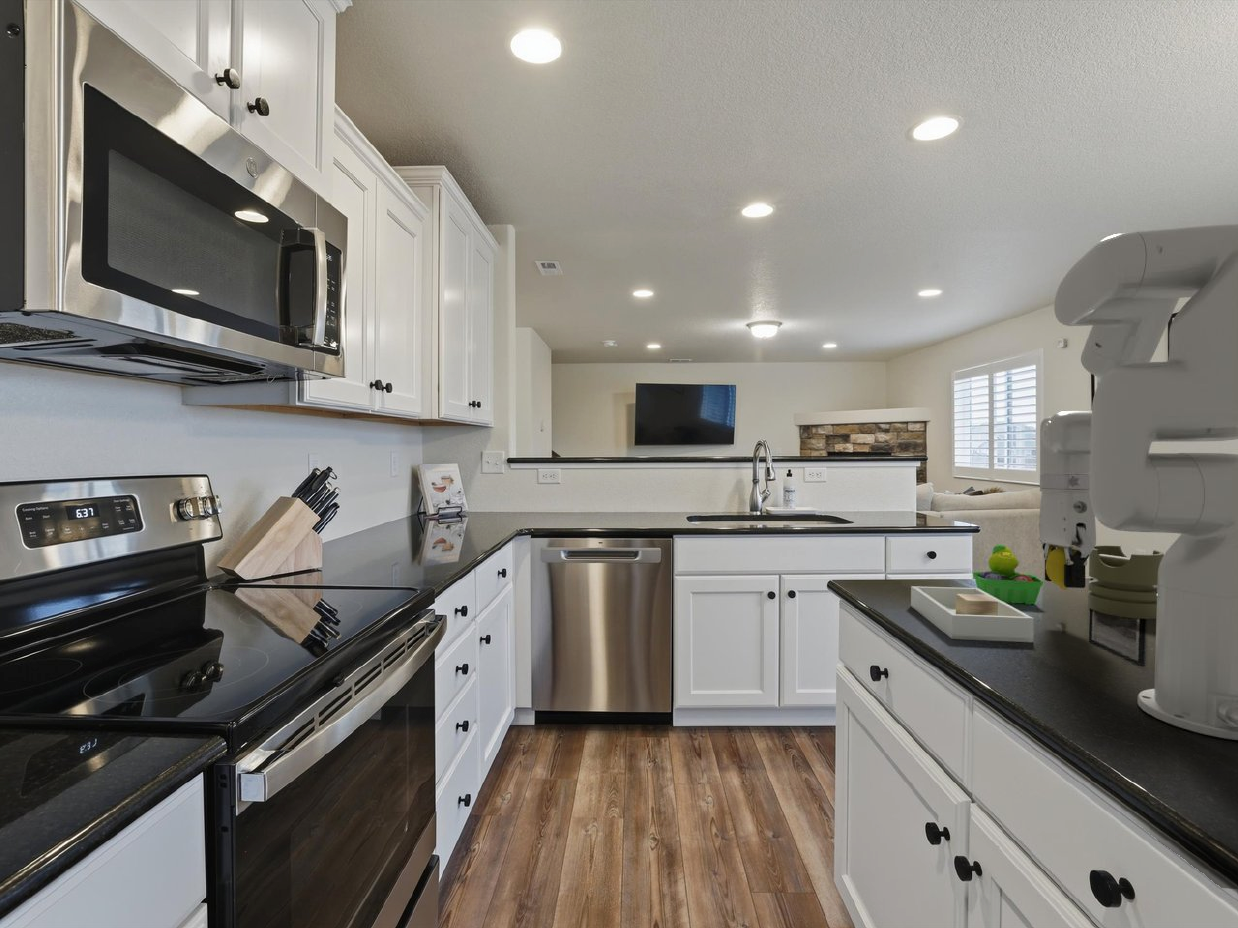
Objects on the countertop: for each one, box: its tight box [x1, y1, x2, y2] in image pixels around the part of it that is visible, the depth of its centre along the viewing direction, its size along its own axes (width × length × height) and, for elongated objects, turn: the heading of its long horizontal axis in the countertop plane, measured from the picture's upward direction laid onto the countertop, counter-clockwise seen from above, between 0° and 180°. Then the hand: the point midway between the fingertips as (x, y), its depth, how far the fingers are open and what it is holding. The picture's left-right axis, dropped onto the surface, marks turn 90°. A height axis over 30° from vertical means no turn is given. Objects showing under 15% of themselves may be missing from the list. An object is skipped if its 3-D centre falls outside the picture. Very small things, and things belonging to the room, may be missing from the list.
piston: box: [1087, 544, 1165, 620], centre depth 123 cm, size 11×12×11 cm
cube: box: [956, 594, 998, 616], centre depth 111 cm, size 5×5×5 cm
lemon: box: [1046, 547, 1075, 591], centre depth 113 cm, size 6×6×8 cm
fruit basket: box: [972, 544, 1044, 605], centre depth 132 cm, size 11×9×11 cm
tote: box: [910, 585, 1035, 643], centre depth 115 cm, size 22×13×4 cm, turn 172°
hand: (1064, 583), depth 113 cm, fingers closed on lemon, 5 cm apart
